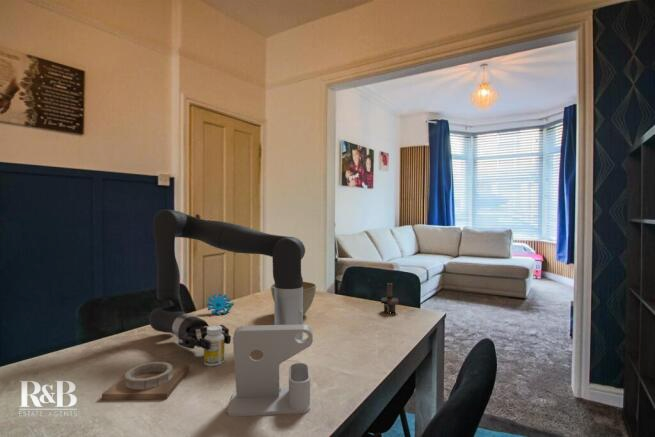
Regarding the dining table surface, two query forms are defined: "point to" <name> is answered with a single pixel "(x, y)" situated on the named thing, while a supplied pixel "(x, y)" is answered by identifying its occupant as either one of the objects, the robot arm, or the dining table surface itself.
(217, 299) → the blue spiky rounded piece
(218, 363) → the supplement bottle
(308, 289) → the flower pot
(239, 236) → the robot arm
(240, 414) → the white tool holder stand
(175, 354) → the dining table surface
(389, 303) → the industrial component
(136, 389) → the walnut board
